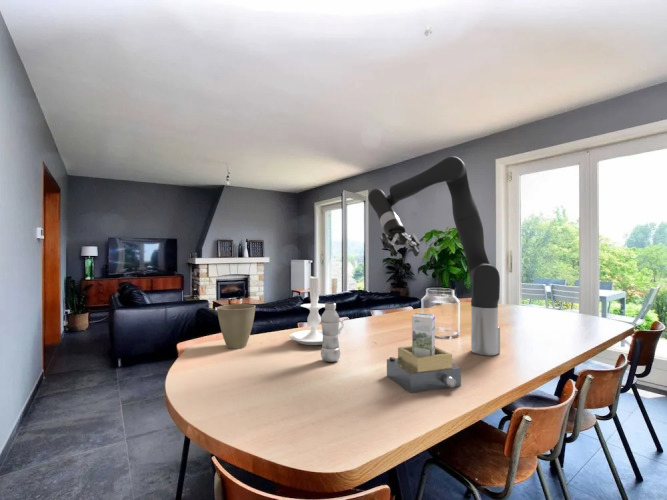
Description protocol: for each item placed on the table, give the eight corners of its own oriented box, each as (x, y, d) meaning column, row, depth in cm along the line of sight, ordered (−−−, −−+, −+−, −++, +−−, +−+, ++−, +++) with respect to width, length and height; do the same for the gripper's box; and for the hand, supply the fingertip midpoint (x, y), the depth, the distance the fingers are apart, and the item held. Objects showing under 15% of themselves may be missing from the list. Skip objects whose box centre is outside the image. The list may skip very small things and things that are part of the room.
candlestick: (356, 344, 144) (356, 275, 144) (301, 352, 132) (301, 278, 132) (333, 333, 162) (333, 273, 162) (282, 340, 150) (282, 274, 150)
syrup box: (435, 362, 104) (435, 313, 104) (432, 368, 98) (432, 316, 98) (416, 360, 106) (415, 312, 106) (411, 365, 101) (411, 315, 101)
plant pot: (263, 344, 143) (263, 305, 143) (235, 353, 131) (235, 310, 131) (237, 340, 151) (237, 302, 151) (208, 348, 139) (208, 307, 139)
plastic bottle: (338, 364, 118) (338, 304, 118) (318, 363, 119) (318, 304, 119) (341, 358, 124) (341, 302, 124) (323, 357, 125) (323, 301, 125)
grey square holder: (432, 370, 112) (432, 341, 112) (468, 390, 96) (467, 356, 96) (386, 375, 107) (386, 346, 107) (416, 397, 91) (416, 362, 91)
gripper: (378, 217, 133) (392, 247, 122) (411, 218, 138) (428, 247, 127) (372, 232, 138) (385, 262, 128) (404, 232, 143) (420, 261, 132)
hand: (406, 254), depth 127 cm, fingers open, 8 cm apart
